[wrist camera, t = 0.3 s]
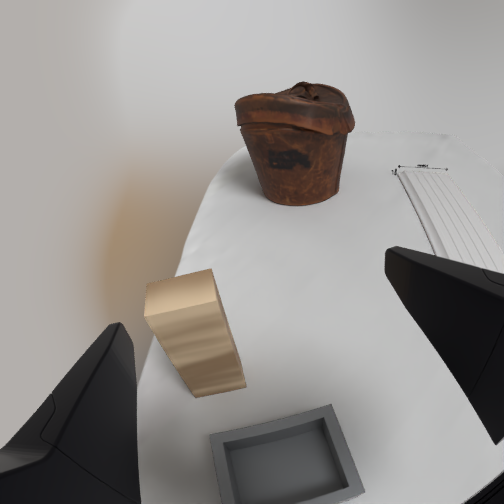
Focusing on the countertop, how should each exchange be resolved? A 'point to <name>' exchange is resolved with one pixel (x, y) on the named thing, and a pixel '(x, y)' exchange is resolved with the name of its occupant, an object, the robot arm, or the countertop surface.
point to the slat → (195, 332)
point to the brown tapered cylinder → (297, 141)
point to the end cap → (287, 462)
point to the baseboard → (451, 220)
